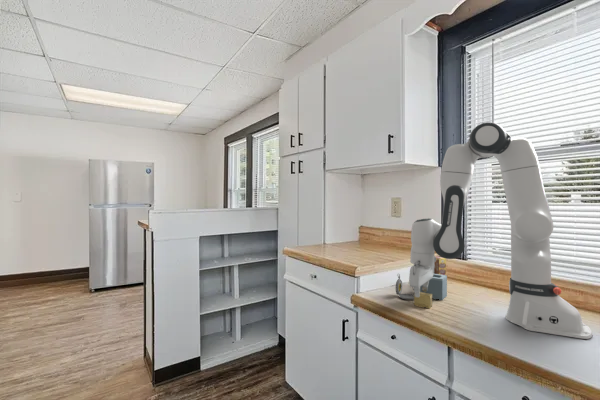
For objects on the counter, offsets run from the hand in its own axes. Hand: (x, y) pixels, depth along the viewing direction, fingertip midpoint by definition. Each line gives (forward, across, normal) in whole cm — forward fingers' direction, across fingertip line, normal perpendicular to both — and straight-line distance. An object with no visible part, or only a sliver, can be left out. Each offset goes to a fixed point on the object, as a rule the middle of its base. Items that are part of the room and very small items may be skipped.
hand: (421, 293), depth 123 cm
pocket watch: (+5, +6, +9) cm, 12 cm away
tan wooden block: (+5, 0, -1) cm, 5 cm away
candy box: (+5, +28, +1) cm, 28 cm away
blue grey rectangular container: (+5, +15, 0) cm, 16 cm away
